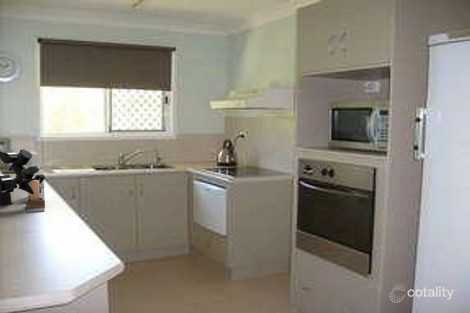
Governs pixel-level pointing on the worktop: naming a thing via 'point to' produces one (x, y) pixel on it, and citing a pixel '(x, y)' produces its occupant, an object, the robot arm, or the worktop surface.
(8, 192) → the robot arm
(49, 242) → the worktop surface
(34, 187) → the peg
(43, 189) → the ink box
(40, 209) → the mat
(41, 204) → the socket block
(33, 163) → the skyscraper
